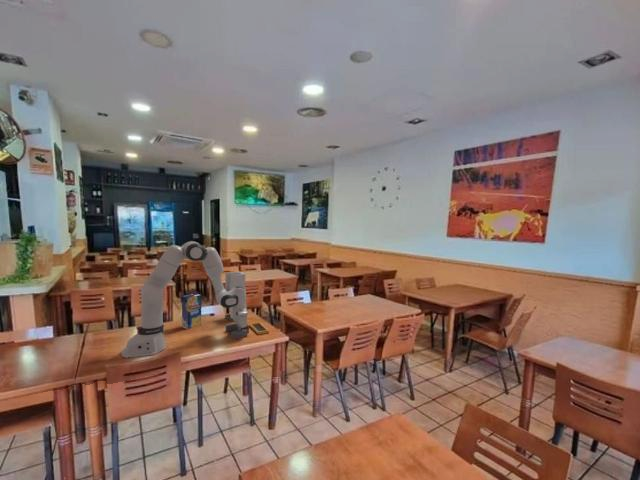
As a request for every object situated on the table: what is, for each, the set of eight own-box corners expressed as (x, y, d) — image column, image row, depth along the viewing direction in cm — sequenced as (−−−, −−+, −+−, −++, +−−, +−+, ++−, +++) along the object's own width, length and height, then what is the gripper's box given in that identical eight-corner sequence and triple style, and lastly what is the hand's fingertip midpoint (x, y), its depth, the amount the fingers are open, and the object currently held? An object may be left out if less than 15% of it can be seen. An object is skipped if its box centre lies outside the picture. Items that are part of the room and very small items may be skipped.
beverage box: (201, 324, 225) (201, 294, 223) (187, 329, 216) (187, 297, 214) (195, 322, 229) (195, 293, 227) (181, 327, 219) (181, 296, 218)
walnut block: (241, 334, 210) (241, 327, 209) (239, 331, 214) (239, 324, 214) (248, 333, 212) (248, 325, 212) (246, 330, 217) (246, 323, 216)
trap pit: (257, 335, 209) (257, 332, 209) (249, 326, 224) (249, 323, 224) (269, 333, 213) (269, 330, 213) (259, 324, 228) (259, 322, 228)
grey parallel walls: (231, 338, 201) (232, 332, 201) (225, 330, 215) (225, 325, 214) (247, 336, 206) (247, 330, 206) (240, 328, 220) (240, 322, 220)
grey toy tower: (238, 314, 250) (239, 271, 247) (244, 318, 241) (245, 273, 239) (225, 317, 242) (225, 273, 240) (230, 321, 234) (231, 275, 232)
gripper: (230, 306, 218) (230, 325, 219) (239, 314, 200) (238, 335, 201) (239, 305, 221) (239, 324, 222) (248, 313, 203) (248, 334, 204)
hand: (239, 329), depth 211 cm, fingers closed
